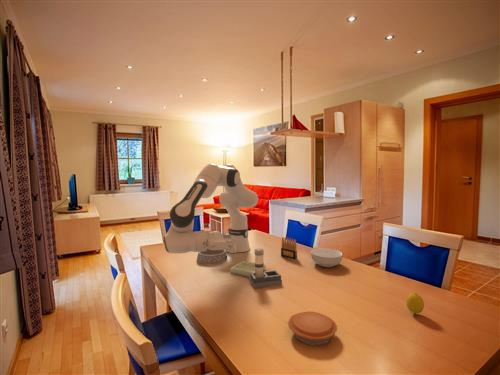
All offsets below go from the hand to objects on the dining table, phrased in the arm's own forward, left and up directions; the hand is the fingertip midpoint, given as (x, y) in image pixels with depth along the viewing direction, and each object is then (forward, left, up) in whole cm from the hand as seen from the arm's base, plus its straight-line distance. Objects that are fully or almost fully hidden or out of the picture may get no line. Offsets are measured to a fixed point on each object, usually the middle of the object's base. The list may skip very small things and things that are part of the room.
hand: (233, 238), depth 127 cm
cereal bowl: (+30, +48, -23) cm, 60 cm away
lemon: (+72, +12, -22) cm, 76 cm away
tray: (-3, +19, -22) cm, 29 cm away
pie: (+43, -18, -23) cm, 52 cm away
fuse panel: (+11, +11, -22) cm, 27 cm away
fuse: (+9, +9, -20) cm, 24 cm away
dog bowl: (-32, +26, -23) cm, 47 cm away
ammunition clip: (+7, +50, -23) cm, 55 cm away
